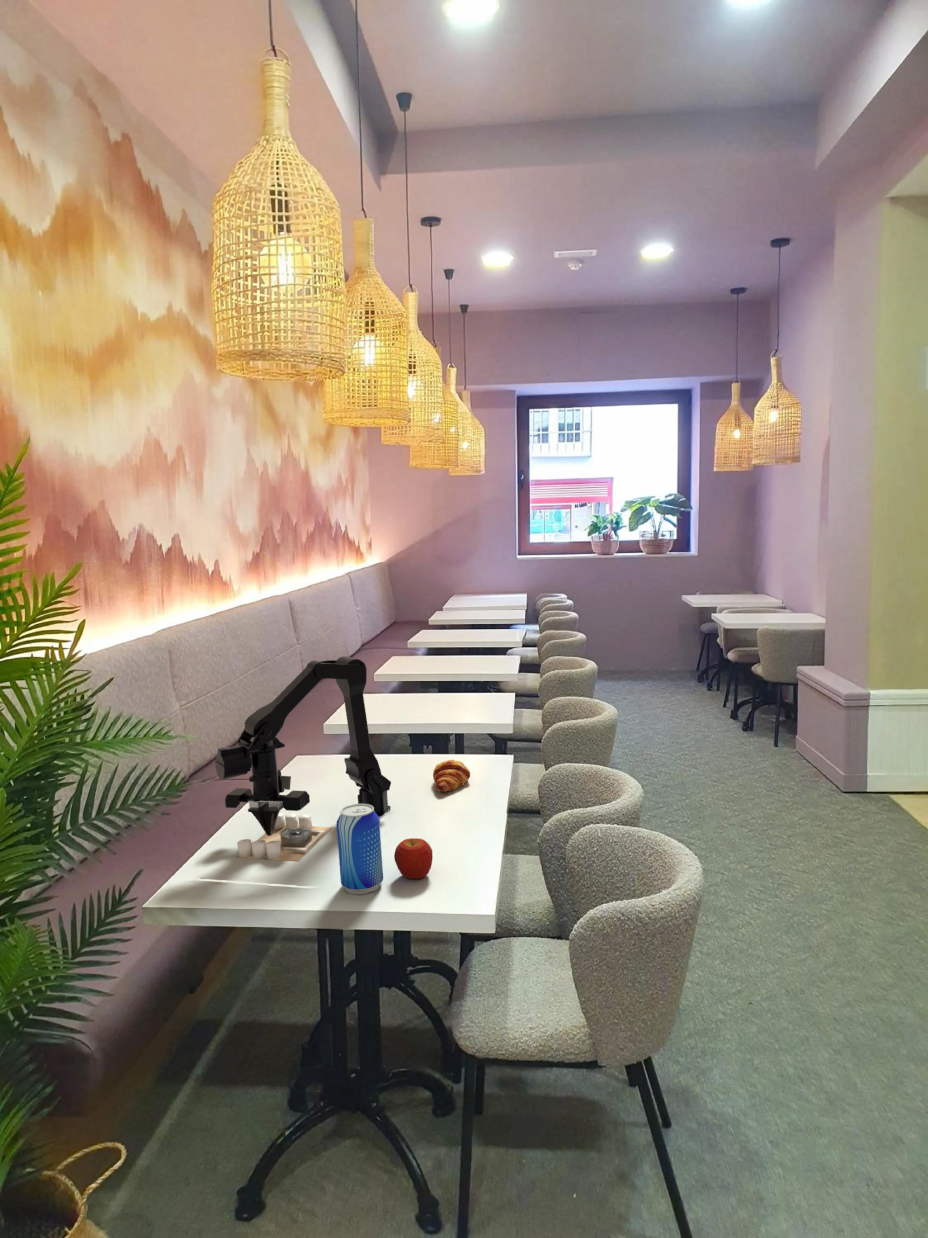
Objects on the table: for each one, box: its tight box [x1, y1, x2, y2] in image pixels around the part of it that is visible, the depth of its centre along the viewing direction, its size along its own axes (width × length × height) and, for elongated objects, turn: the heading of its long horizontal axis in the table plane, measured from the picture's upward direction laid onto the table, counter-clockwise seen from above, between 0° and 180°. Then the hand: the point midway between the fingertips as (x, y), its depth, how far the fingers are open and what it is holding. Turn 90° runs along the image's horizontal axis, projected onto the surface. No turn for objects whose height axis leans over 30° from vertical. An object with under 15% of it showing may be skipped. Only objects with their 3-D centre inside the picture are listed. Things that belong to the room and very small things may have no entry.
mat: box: [235, 824, 334, 862], centre depth 187 cm, size 15×19×1 cm
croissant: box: [432, 759, 471, 793], centre depth 223 cm, size 21×10×8 cm, turn 168°
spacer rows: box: [236, 812, 313, 861], centre depth 188 cm, size 10×19×3 cm, turn 166°
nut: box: [280, 827, 312, 848], centre depth 186 cm, size 6×7×2 cm
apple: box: [393, 838, 434, 880], centre depth 167 cm, size 8×8×8 cm
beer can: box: [336, 803, 384, 895], centre depth 163 cm, size 8×8×16 cm
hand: (270, 835), depth 188 cm, fingers closed
